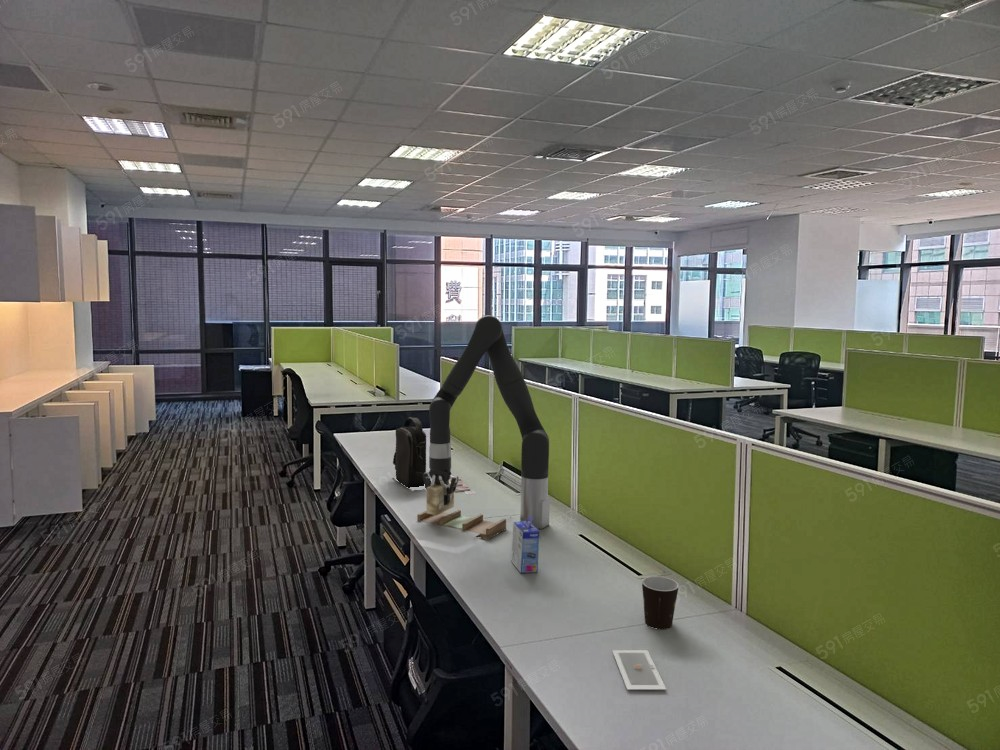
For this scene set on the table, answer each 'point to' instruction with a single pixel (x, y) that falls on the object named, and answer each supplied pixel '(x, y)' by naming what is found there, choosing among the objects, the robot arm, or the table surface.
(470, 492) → the plaque
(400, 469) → the shoulder bag
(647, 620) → the coffee mug
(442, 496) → the tall beige wooden block
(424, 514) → the notched rack
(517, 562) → the ink cartridge box
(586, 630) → the table surface
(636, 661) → the touchpad
